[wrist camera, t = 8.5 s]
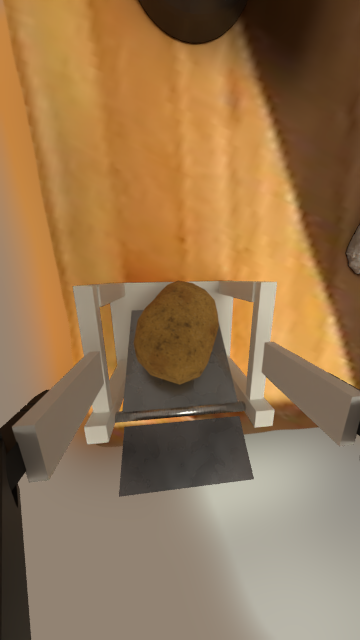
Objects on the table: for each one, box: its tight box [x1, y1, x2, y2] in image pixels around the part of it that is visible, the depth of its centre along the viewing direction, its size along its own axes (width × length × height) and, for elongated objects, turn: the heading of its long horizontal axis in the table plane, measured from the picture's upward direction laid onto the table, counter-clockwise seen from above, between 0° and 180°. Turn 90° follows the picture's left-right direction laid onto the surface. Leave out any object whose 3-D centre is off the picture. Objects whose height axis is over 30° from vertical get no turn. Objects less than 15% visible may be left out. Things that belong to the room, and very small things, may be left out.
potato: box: [134, 281, 219, 385], centre depth 20 cm, size 9×13×7 cm
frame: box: [73, 281, 277, 444], centre depth 22 cm, size 18×20×14 cm
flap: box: [115, 310, 254, 496], centre depth 22 cm, size 20×14×4 cm
